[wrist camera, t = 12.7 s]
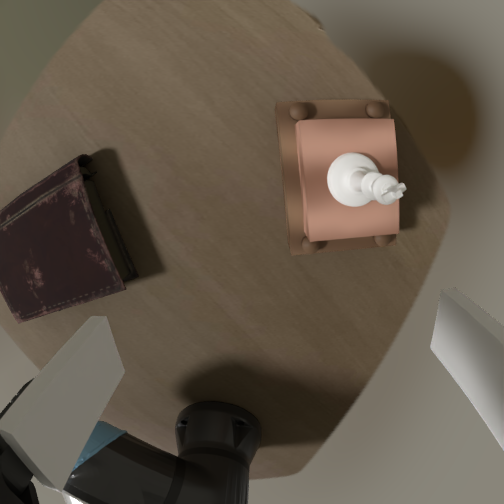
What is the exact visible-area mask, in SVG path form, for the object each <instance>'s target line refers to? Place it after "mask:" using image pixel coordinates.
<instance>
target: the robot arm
mask: <svg viewBox="0 0 504 504" xmlns="http://www.w3.org/2000/svg"><path fill="white" fill-rule="evenodd" d="M430 348H431V350H432V351H433V352H434V353H435V355H436V356H437V357H438V359H439V360H440V361H441V363H442V364H443V365H444V366H445V368H446V369H447V370H448V372H449V373H450V374H451V376H452V377H453V378H454V379H455V381H456V382H457V384H458V385H459V386H460V388H461V389H462V391H463V392H464V393H465V395H466V396H467V397H468V399H469V400H470V402H471V403H472V404H473V406H474V407H475V409H476V410H477V411H478V413H479V414H480V416H481V417H482V419H483V420H484V422H485V423H486V425H487V426H488V428H489V429H490V431H491V432H492V434H493V435H494V436H495V438H496V440H497V441H498V443H499V444H500V446H501V447H502V449H503V451H504V326H503V325H502V324H501V323H500V322H498V321H497V320H496V319H495V318H494V317H492V316H491V315H490V314H489V313H487V312H486V311H485V310H484V309H482V308H481V307H480V306H479V305H477V304H476V303H475V302H474V301H472V300H471V299H470V298H469V297H467V296H466V295H465V294H463V293H462V292H461V291H459V290H458V289H457V288H456V287H455V288H449V289H443V290H441V293H440V300H439V306H438V311H437V317H436V322H435V327H434V332H433V337H432V342H431V346H430ZM124 373H125V370H124V367H123V365H122V362H121V359H120V356H119V353H118V350H117V347H116V345H115V342H114V338H113V335H112V332H111V329H110V326H109V323H108V319H107V316H91V317H90V318H89V319H88V320H87V321H86V322H85V323H84V324H83V325H82V326H81V327H80V328H79V330H78V331H77V332H76V333H75V334H74V335H73V336H72V337H71V338H70V339H69V340H68V341H67V342H66V343H65V345H64V346H63V347H62V348H61V349H60V350H59V351H58V352H57V353H56V354H55V356H54V357H53V358H52V359H51V360H50V361H49V362H48V363H47V365H46V366H45V367H44V368H43V369H42V370H41V371H40V373H39V374H38V375H37V376H36V377H35V378H33V379H32V380H30V381H29V382H27V383H26V384H25V385H24V386H23V387H22V388H21V389H20V391H19V392H18V393H17V395H15V397H14V398H13V399H12V400H11V403H9V404H8V405H7V406H6V408H5V409H4V410H3V411H2V412H1V413H0V504H39V501H38V497H37V493H36V489H35V486H34V484H33V483H32V482H31V481H30V480H31V479H32V477H33V475H34V476H35V477H36V478H37V479H38V480H39V482H40V483H41V484H42V485H43V486H46V487H48V488H50V489H53V490H55V491H58V492H60V493H61V492H62V495H63V497H64V499H65V501H66V504H248V490H249V489H248V488H249V467H250V464H251V462H252V460H253V458H254V456H255V454H256V451H257V449H258V447H259V445H260V442H261V426H260V424H259V422H258V420H257V419H256V418H255V417H254V416H253V415H252V414H251V413H249V412H248V411H246V410H244V409H242V408H240V407H237V406H235V405H231V404H227V403H222V402H201V403H196V404H193V405H190V406H188V407H186V408H185V409H183V410H182V411H181V412H180V414H179V416H178V419H177V422H176V426H175V434H176V442H177V448H178V457H177V456H175V455H173V454H170V453H168V452H166V451H163V450H161V449H159V448H157V447H155V446H152V445H150V444H148V443H146V442H144V441H142V440H140V439H138V438H136V437H134V436H132V435H130V434H128V433H127V431H125V430H121V429H118V428H116V427H114V426H112V425H110V424H108V423H106V422H104V421H98V420H99V418H100V416H101V414H102V413H103V411H104V409H105V407H106V405H107V403H108V402H109V400H110V398H111V396H112V394H113V393H114V391H115V389H116V387H117V386H118V384H119V382H120V380H121V378H122V377H123V375H124Z"/></svg>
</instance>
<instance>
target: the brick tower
mask: <svg viewBox="0 0 504 504" xmlns="http://www.w3.org/2000/svg"><path fill="white" fill-rule="evenodd" d="M275 116H276V124H277V133H278V142H279V151H280V161H281V171H282V181H283V191H284V202H285V213H286V224H287V236H288V244H289V248H290V251H291V255H302V254H314V253H323V252H333V251H343V250H353V249H363V248H373V247H385V246H393V245H396V234H399V199H397V200H396V201H395V202H394V203H392V204H389V205H383V204H381V203H379V202H378V201H377V200H371V201H370V202H369V203H367V204H365V205H363V206H358V207H352V206H346V205H343V204H341V203H340V202H338V201H337V200H336V199H335V198H334V197H333V196H332V194H331V192H330V190H329V188H328V183H327V175H328V171H329V168H330V166H331V164H332V163H333V161H334V160H335V159H336V158H338V157H339V156H341V155H343V154H345V153H351V152H354V153H360V154H362V155H364V156H366V157H368V158H369V159H371V160H372V161H373V162H374V164H375V165H376V167H377V169H378V171H379V173H381V174H382V175H390V176H393V177H394V178H395V179H396V180H397V181H398V162H397V148H396V136H395V126H394V119H391V116H390V107H389V101H388V100H353V99H342V100H306V101H288V102H277V103H276V107H275ZM398 183H399V182H398Z"/></svg>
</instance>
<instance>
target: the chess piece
mask: <svg viewBox="0 0 504 504" xmlns="http://www.w3.org/2000/svg"><path fill="white" fill-rule="evenodd" d="M327 183H328V188H329V190H330V192H331V194H332V196H333V197H334V198H335V199H336V200H337V201H338V202H340V203H341V204H343V205H346V206H352V207H358V206H363V205H365V204H367V203H369V202H370V201H371V200H377V201H378V202H379V203H381V204H383V205H389V204H392V203H394V202H395V201H396V200H397V199H399V198H401V197H402V196H403V194H402V192H404V191H405V190H407V189H406V187H405V184H404V183H400V184H399V183H398V181H397V180H396V179H395V178H394V177H393V176H390V175H382V174H381V173H379V171H378V169H377V167H376V165H375V164H374V162H373V161H372V160H371V159H369V158H368V157H366V156H364V155H362V154H360V153H354V152H351V153H345V154H343V155H341V156H339V157H338V158H336V159H335V160H334V161H333V163H332V164H331V166H330V168H329V171H328V175H327Z"/></svg>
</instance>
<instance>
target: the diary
mask: <svg viewBox="0 0 504 504" xmlns="http://www.w3.org/2000/svg"><path fill="white" fill-rule="evenodd" d="M91 160H92V157H90V156H88V155H86V154H82V155H80V156H78V157H76V158H75V159H73V160H72V161H70V162H68V163H67V164H65V165H64V166H62V167H61V168H59V169H58V170H56V171H55V172H53V173H52V174H50V175H49V176H47V177H46V178H44V179H43V180H41V181H40V182H38V183H37V184H35V185H34V186H32V187H31V188H29V189H28V190H26V191H25V192H23V193H22V194H20V195H19V196H18V197H17V198H15V199H14V200H13V201H12V202H10V203H9V204H8V205H7V206H5V207H4V208H3V209H2V210H1V211H0V291H1V293H2V295H3V297H4V299H5V301H6V303H7V305H8V307H9V309H10V311H11V313H12V314H13V316H14V318H15V320H16V321H17V322H18V323H22V322H25V321H28V320H31V319H34V318H37V317H41V316H44V315H47V314H50V313H53V312H56V311H60V310H62V309H66V308H69V307H72V306H76V305H79V304H82V303H86V302H89V301H92V300H95V299H98V298H101V297H104V296H108V295H111V294H114V293H117V292H120V291H123V290H126V287H125V285H124V283H123V282H124V281H127V280H131V279H134V278H137V277H139V276H138V274H137V271H136V269H135V267H134V265H133V263H132V260H131V258H130V256H129V254H128V251H127V249H126V247H125V245H124V242H123V240H122V238H121V235H120V233H119V230H118V228H117V226H116V223H115V221H114V218H113V216H112V213H111V211H110V209H109V210H107V211H104V208H103V206H102V203H101V200H100V198H99V195H98V192H97V189H96V187H95V184H94V182H93V181H89V180H88V181H84V180H86V179H88V178H89V177H91V176H92V175H94V174H95V173H97V172H95V173H93V174H91V173H90V172H89V171H88V170H87V169H86V168H85V167H81V166H83V165H84V164H86V163H88V162H90V161H91Z"/></svg>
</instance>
